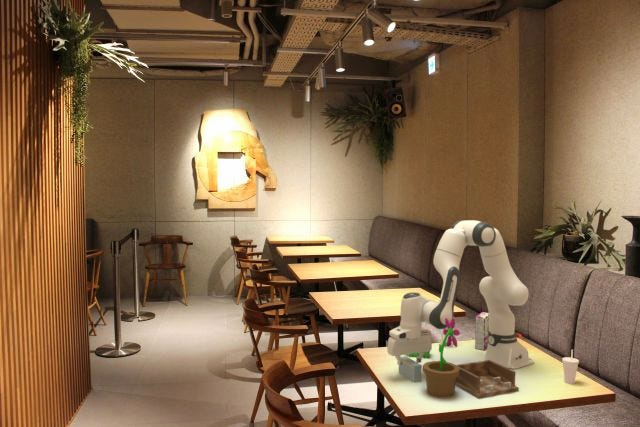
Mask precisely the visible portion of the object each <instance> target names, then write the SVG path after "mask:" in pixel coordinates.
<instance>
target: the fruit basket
mask: <svg viewBox="0 0 640 427" xmlns="http://www.w3.org/2000/svg"><path fill="white" fill-rule="evenodd" d="M430 353H431V351H430V352H424V356H423V357H422V358H425V359H427V358H429V356H430ZM418 356H419V353H414V354H408V357H414V358H415V357H416V358H418Z"/></svg>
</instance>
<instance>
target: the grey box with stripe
mask: <svg viewBox="0 0 640 427" xmlns="http://www.w3.org/2000/svg"><path fill="white" fill-rule="evenodd" d="M400 360H401V361H403V363H402V365H398V374H400V375H402V376H403V377H405V378H406V379H408V380H410V381H411V382H413V383H418V382H422V369H423V365H422V364H421V363H418V362H416V360H413V359H412V358H410V357H409V356H407V355H404V356H401V357H400Z"/></svg>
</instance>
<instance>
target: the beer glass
mask: <svg viewBox="0 0 640 427" xmlns="http://www.w3.org/2000/svg"><path fill="white" fill-rule="evenodd" d="M453 318H454V319H455V317H454V316H453ZM450 328H451V325H450ZM445 329H448V328H445ZM443 330H444V329H439V332H440V337H441V338H440V344H441V345H442V342H443V340H444V338H445V336H446V335H444V334H443ZM448 330H449V329H448ZM453 330H455V327H454V328H453ZM449 336H450V335H449ZM449 336H448V337H449ZM448 337H447V339H446V342H445V345H444V348H446V349H450V348H453V347H454V345H453V342H452V343H451V345H450V347H449V346H448V343H447V340H448ZM451 338H452V337H451Z"/></svg>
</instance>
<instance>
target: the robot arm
mask: <svg viewBox="0 0 640 427" xmlns="http://www.w3.org/2000/svg"><path fill="white" fill-rule="evenodd" d="M467 246H470V247H471V246H472V247H473V246H476V247H478V249H479V252H480V253H479V254H480V258H481V262H482V264H483V268H484V271H485V272H486V273H487V274H488V275H489V276H485V277H483V278H482V279H481V280H480V282H479V285H478V286H479V287H478V289H479V290H478V291H479V293H480V294H481V295H482V297H483V299H484V300H485V303H486V307H487V310H488V313H489V331H488V346H487V348H486V354H485V356H484V359H483V361H486V360H491V361H493V362H495V363H497V364H500V365H502V366H504V367H506V368H508V369H511V370H512V369H513V370H517V369H519V368H523V367H526V366H530V365H533V364H535V361H534V360H533V358H530V357H529V351H528V349H527V347H525V346H524V345H523V344H522V343H520V342H519V341H518V339H519V340H520V339H522V337H523V335H522V333H519V332H518V333H516V332H515V330H516V329H515V326H516V325H515V324H516V318H515V315H514V313H513V312H512V310H511V309H510V306H515V307H517V306H519V307H520V306H524V305H525V304H526V302H527V301H528V299H529V295H530V294H529V289H528V287H527V286H526V285H525V283H523V282H522V281H521V280H520V279H519V277H518V276H517V275H516V273H515V271H514V269H513V267H512V266H511V263H510V260H509V257H508V253H507V249H506V245H505V242H504V240H503V236H502V235H501V233H500V231H499V230H498V229H497V228H495V227H493V225H491V224H490V223H489V222H486V221H480V220H476V219H475V220H474V219H472V220H471V219H470V220H467V219H460V220H457V221H455V222H453V223H452V225H451V227H450V228H449V229H446V230H445V231H444V233H443V234H442V236H441V238H440V240H439V242H438V245H437V247H436V250H435V252H434V255H433V263H432V264H433V266H434V269H435V270H436V272H438V273H439V274H440V276H441V278H442V282H443V283H442V289H441V294H440V298H439V301H435V300H433V299H429V298H427V297H425V296H423V295H422V294H421V293H419V292H407V293H405V294H404V295H403V296H402V298H401V303H400V322H399V326H396V327H395V328H393V329H391V330H389V332H388V333H389V334H388V335H389V337H388V340H387V348H386V349H387V350H386V351H387V353H388V355H389V356H392V357H394V358H395V359H396V360H397V361H396V363H397V365H398V366H399V365H402V363H403V361H401V360H400V357H402V356H403V355H404V356H407V355H409V354H414V353H419V356H418V357H416V359H415V362H417V363H419V364H421V363H422V359H423V358H424V357H423V356H424V352H430V353H431V350H432V349H433V347H432V346H433V345H432V332H431V331H430V330H429V329H422V324H423V322H425V323H427V324H428V325H431V326H432V327H434V328H436V329H438V330H440V329H445V328H447V326H446V324H445V319H446V318H447V319H448V320H449V322H450V323H451V320H452V318H453V317H454V314H455V312H454V310H455V303H456V299H457V298H456V297H457V294H458V289H459V285H460V280H461V272H460V265H461V259H462V257H463V254H464V251H465V248H466V247H467Z"/></svg>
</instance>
